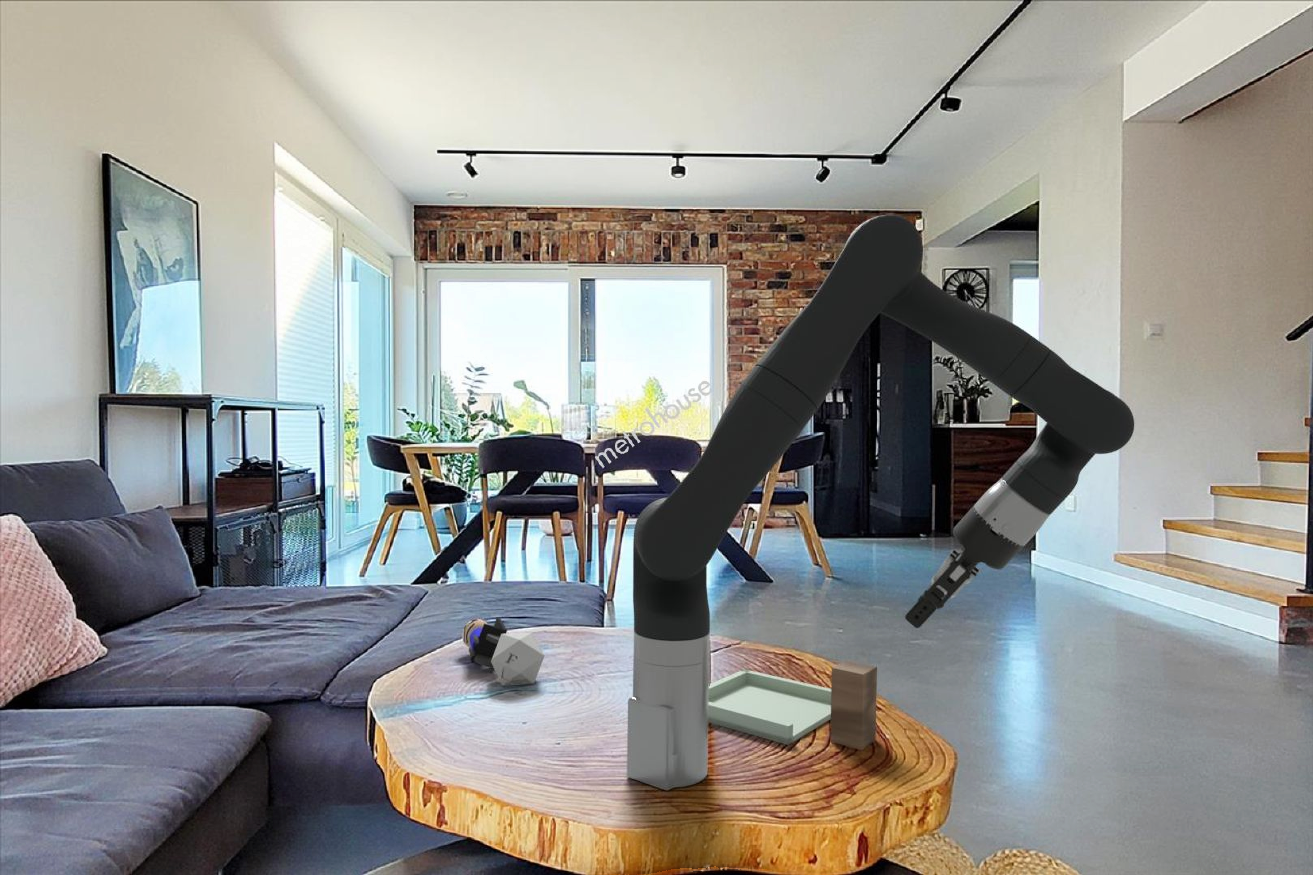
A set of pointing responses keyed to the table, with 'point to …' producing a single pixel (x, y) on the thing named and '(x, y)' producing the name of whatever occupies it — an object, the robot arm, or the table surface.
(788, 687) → the tray
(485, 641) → the character figurine
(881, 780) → the table surface
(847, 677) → the block
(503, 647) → the die
